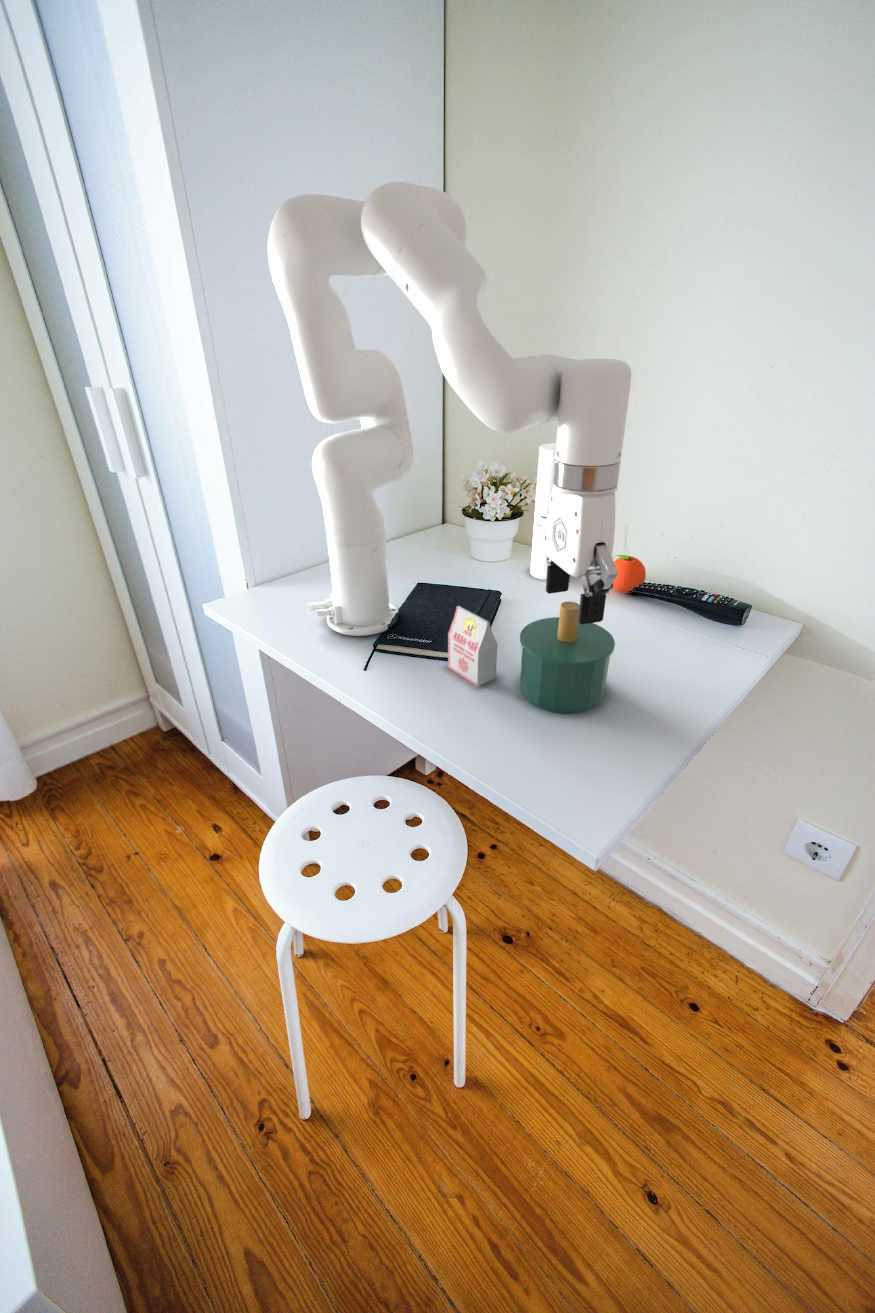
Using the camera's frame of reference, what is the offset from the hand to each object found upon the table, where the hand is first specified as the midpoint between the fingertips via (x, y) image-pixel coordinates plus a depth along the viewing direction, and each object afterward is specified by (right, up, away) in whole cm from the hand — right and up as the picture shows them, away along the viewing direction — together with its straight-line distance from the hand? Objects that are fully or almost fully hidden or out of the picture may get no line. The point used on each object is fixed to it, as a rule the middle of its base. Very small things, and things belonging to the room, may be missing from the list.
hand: (572, 606), depth 80 cm
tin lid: (0, -5, +3) cm, 6 cm away
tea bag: (-13, -9, +11) cm, 20 cm away
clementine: (+18, +6, +36) cm, 41 cm away
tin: (0, -12, +7) cm, 14 cm away
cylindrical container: (+5, +10, +44) cm, 45 cm away
